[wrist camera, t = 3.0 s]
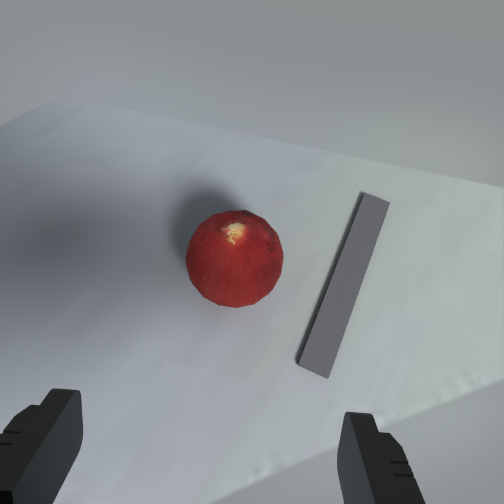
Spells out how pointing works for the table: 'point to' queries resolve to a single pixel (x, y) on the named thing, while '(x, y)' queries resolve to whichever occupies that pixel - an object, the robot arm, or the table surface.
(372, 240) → the flat gray rectangular bar
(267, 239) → the onion
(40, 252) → the table surface
